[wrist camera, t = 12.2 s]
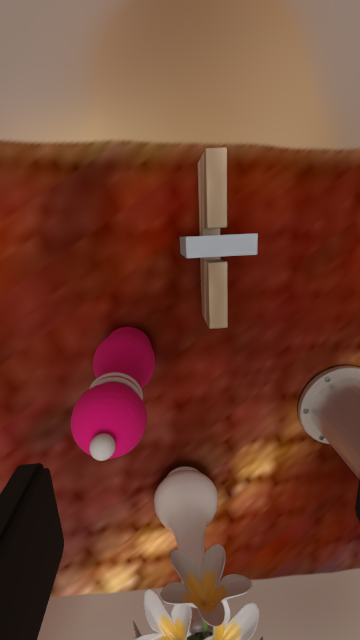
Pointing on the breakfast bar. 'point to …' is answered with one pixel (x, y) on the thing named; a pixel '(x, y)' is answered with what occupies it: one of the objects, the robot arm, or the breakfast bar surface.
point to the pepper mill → (115, 396)
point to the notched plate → (218, 245)
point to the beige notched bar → (213, 233)
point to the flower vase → (195, 569)
